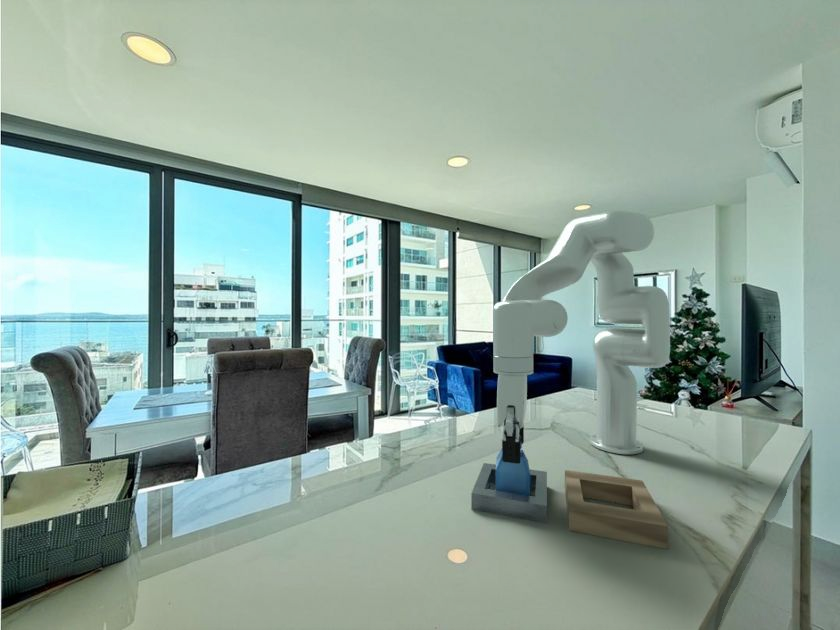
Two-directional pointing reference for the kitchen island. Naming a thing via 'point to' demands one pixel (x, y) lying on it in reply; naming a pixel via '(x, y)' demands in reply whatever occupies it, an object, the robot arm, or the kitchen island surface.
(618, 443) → the robot arm
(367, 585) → the kitchen island surface
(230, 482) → the kitchen island surface
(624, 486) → the tan square frame
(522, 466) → the perfume bottle
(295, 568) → the kitchen island surface
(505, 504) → the block
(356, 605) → the kitchen island surface
